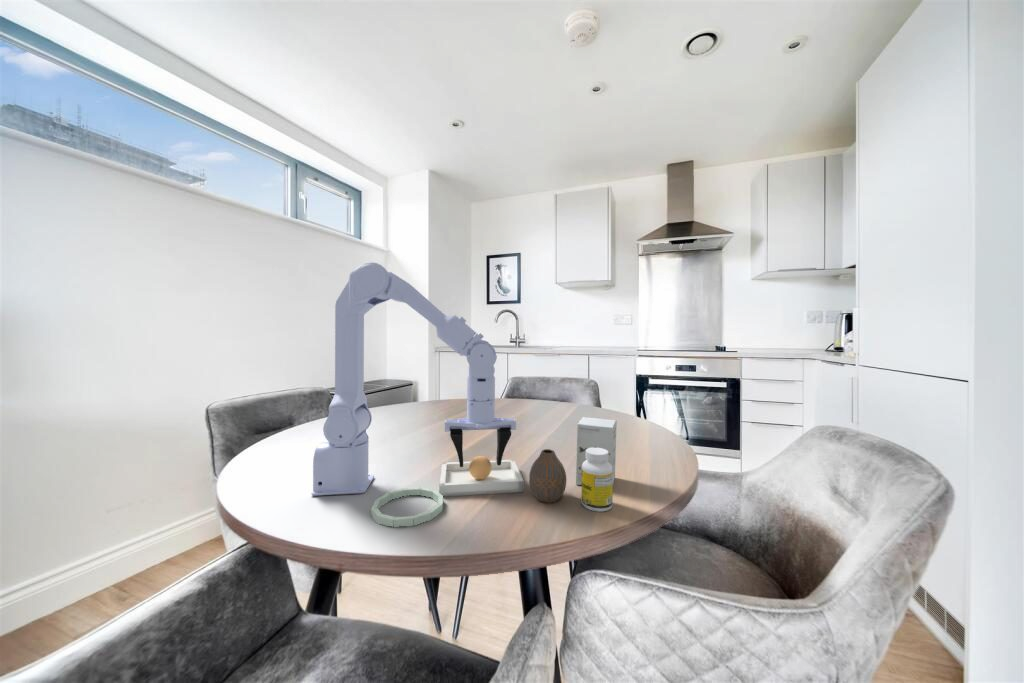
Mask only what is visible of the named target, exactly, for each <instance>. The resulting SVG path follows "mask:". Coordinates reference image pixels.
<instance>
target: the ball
mask: <svg viewBox="0 0 1024 683" xmlns="http://www.w3.org/2000/svg"><path fill="white" fill-rule="evenodd" d="M490 461H491V460H490V459H489V458H488V457H486V456H483V455H477V456H475V457H474V458H473V459H472V460H470V462H471V463H470V465H469V471H470V474H471V475H472V476H473V477H474V478H475V479H479V480H481V479H485V478H486V477H488V476H489V474H490V472H491V468H492V467H491V463H490Z"/></svg>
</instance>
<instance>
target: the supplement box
mask: <svg viewBox="0 0 1024 683" xmlns="http://www.w3.org/2000/svg"><path fill="white" fill-rule="evenodd" d="M617 424H618V420H615V419H606V418H598V417H588V416H587V417H586V416H582V418H581V419H580V420H579V422H578V423H577V424H576V425H577V427H576V465H575V466H576V467H575V471H576V472H575V485H577V486H578V485H579V486H582V464H583V462H584V461H586V460H587V459H586V449H588V448H602V449H605V450H607V451H608V453H609V458H608V461H607V462H609V463H610V464H611V465H612V469H613V477H612V487H613V486H614V482H615V477H616V454H617V449H616V448H617Z"/></svg>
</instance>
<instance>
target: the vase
mask: <svg viewBox="0 0 1024 683" xmlns="http://www.w3.org/2000/svg"><path fill="white" fill-rule="evenodd" d="M530 467H531V468H530V470H529V474H528V481H529V488H530V491H531V493H532V494H533V496H534V497H535V498H536V499H537V500H538V501H539V502H542V503H548V504H549V503H551V504H552V503H555V502H557V501H559V500H560V499H561V498H562V497H563V495H564V493H565V490H566V488H567V472H566V469H565V467H564V464H563V463H562V462H561V460H560V459H559V457H558V456H557V455H556V452H555V450H553V449H550V448H549V449H548V448H546V449H542V450H541V452H540V454H539V456H537V458H536V459H535V461H534V462H533V463H532V465H531V466H530Z"/></svg>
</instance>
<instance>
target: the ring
mask: <svg viewBox="0 0 1024 683" xmlns="http://www.w3.org/2000/svg"><path fill="white" fill-rule="evenodd" d="M407 495H408V496H407ZM409 495H421V496H420V497H424V496H426V498H429V497H431V498H430V499H432V498H433V499H432V500H434V501H435V502H436V503H437V502H438V503H437V504H435V505H434V506H433V507H432V508H430V509H429V510H427V511H425V512H424V511H423V512H421V513H418V514H414V515H409V516H408V515H407V516H406V515H405V516H392V515H388V514H385V513H382V512H381V511H380V509H381V507H383V506H384V505H386V504H387V503H389V502H390V500H391V501H393V500H392V499H394V500H396V499H395V498H397V499H400V498H399V497H401V498H403V497H402V496H404V497H410V496H409ZM388 501H389V502H388ZM386 502H387V503H386ZM385 503H386V504H385ZM383 504H384V505H383ZM382 505H383V506H382ZM380 506H381V507H380ZM443 507H444V497H443V495H441V494H440V493H439V491H437V490H436V489H431V488H428V487H421V486H420V487H407V488H406V487H404V488H400V489H396V490H392V491H389V492H386V493H385V494H383V495H381V496H380V497H378V498H376V499H375V500H374V502H373V504H372V506H371V509H370V512H371V517H372V519H373V520H374V521H375V522H376V524H379V525H382V524H383V525H382V526H387V527H389V526H392V527H391V528H400V527H399V526H407V527H414V525H415V526H418V525H420V523H421V524H424V523H426V521H427V522H429V521H432V520H434V519H435V518H436V517H437V516H438V515H440V514H441V513H442V512H443V509H444V508H443ZM434 517H435V518H434ZM423 522H424V523H423ZM417 524H418V525H417ZM393 526H394V527H393Z"/></svg>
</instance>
